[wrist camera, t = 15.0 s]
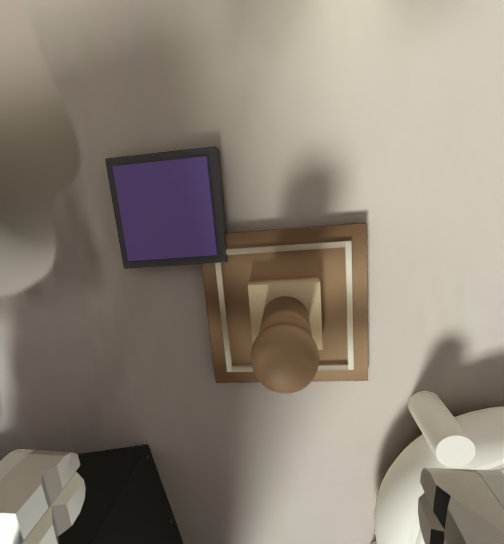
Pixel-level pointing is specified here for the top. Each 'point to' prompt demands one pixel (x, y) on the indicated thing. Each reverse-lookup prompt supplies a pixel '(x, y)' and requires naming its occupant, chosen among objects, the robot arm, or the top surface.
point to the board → (292, 264)
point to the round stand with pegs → (434, 461)
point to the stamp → (285, 331)
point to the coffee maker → (122, 501)
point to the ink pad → (169, 207)
